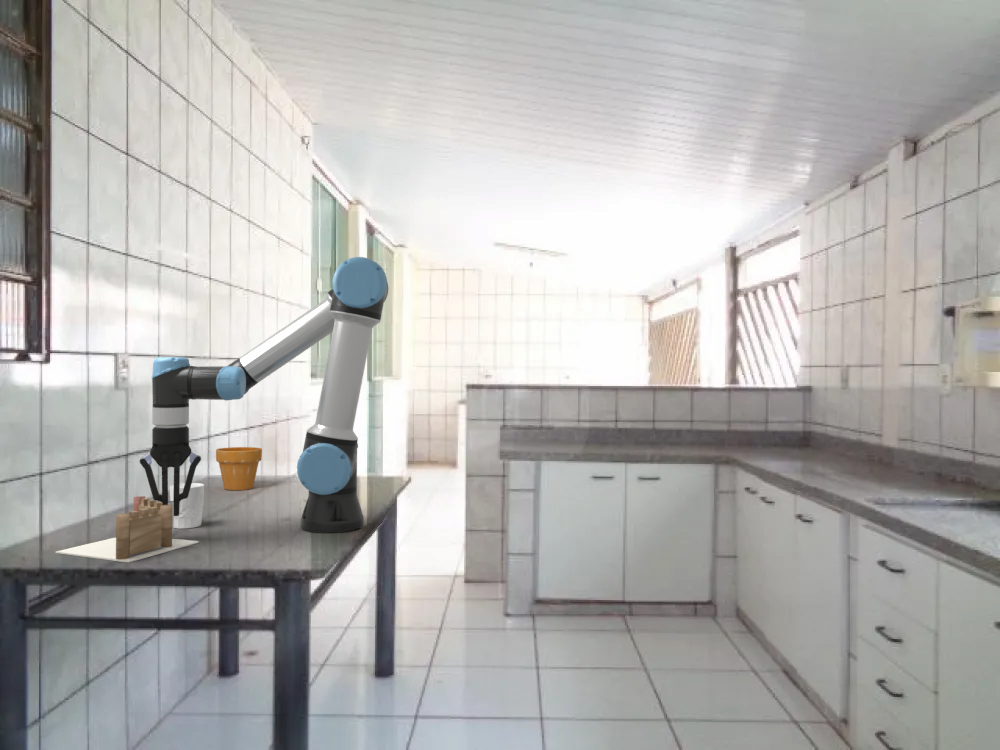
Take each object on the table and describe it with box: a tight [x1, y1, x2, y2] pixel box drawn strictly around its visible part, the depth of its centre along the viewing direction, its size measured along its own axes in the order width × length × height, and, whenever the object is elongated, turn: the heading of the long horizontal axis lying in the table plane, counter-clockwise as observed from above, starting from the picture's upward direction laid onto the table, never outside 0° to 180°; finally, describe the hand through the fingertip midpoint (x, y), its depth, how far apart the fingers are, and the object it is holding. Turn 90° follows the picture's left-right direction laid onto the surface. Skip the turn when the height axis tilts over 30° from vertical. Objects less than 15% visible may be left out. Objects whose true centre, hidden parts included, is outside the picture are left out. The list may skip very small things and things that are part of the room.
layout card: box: [54, 536, 200, 563], centre depth 159 cm, size 20×19×1 cm
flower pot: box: [215, 446, 263, 491], centre depth 243 cm, size 14×14×13 cm
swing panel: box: [132, 495, 163, 514], centre depth 165 cm, size 2×13×8 cm, turn 47°
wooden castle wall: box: [115, 505, 173, 560], centre depth 154 cm, size 2×14×9 cm, turn 159°
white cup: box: [168, 482, 205, 529], centre depth 182 cm, size 8×8×10 cm
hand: (170, 530), depth 167 cm, fingers closed
